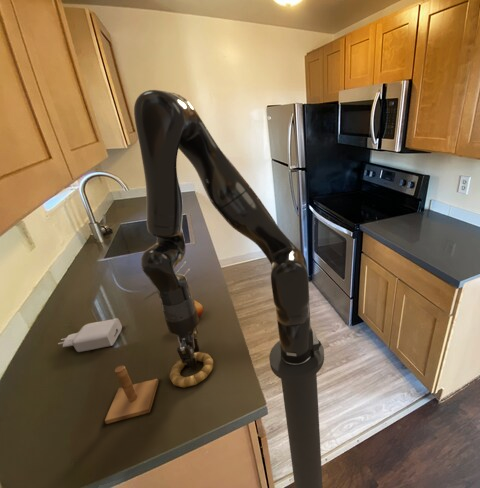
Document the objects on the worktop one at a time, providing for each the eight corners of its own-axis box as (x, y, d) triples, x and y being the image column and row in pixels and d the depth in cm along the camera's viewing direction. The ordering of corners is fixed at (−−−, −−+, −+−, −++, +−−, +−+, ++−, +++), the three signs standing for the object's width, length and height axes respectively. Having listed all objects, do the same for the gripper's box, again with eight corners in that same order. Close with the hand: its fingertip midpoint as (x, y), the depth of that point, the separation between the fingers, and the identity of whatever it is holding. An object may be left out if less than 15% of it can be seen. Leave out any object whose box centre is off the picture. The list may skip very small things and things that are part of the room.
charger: (70, 337, 90) (122, 327, 94) (54, 358, 82) (112, 347, 86) (64, 326, 88) (118, 316, 92) (47, 346, 80) (106, 335, 84)
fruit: (170, 317, 96) (178, 296, 96) (192, 317, 102) (200, 298, 102) (177, 328, 91) (186, 306, 90) (201, 328, 96) (208, 307, 96)
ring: (214, 352, 83) (213, 346, 82) (212, 382, 73) (210, 376, 72) (175, 362, 80) (173, 355, 79) (167, 394, 70) (165, 387, 69)
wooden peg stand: (158, 381, 74) (146, 350, 69) (149, 412, 66) (135, 379, 61) (120, 391, 72) (105, 359, 67) (106, 424, 64) (88, 390, 59)
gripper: (192, 325, 68) (206, 375, 75) (198, 294, 80) (209, 339, 87) (158, 332, 66) (175, 382, 73) (170, 299, 78) (184, 344, 85)
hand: (194, 358), depth 80 cm, fingers open, 5 cm apart
